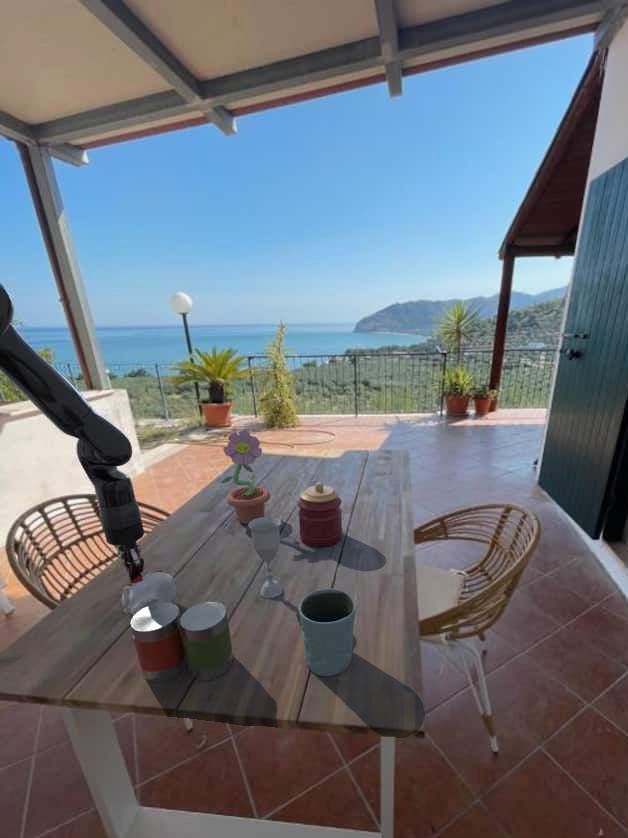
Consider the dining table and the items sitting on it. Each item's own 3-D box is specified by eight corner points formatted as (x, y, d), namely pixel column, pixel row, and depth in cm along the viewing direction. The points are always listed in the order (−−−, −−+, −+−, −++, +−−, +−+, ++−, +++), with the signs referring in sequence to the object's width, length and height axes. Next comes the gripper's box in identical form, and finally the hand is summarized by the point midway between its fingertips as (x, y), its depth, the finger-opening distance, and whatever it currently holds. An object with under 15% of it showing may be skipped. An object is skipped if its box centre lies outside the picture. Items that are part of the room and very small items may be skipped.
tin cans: (133, 682, 68) (120, 632, 64) (154, 649, 75) (143, 602, 72) (226, 680, 68) (218, 630, 65) (238, 648, 76) (231, 600, 72)
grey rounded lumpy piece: (144, 636, 78) (112, 615, 87) (195, 606, 86) (161, 590, 95) (132, 597, 75) (100, 580, 84) (185, 570, 84) (151, 557, 93)
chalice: (249, 596, 91) (241, 527, 85) (266, 580, 97) (259, 515, 91) (276, 603, 88) (269, 532, 82) (292, 586, 94) (286, 519, 88)
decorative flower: (226, 532, 122) (213, 439, 112) (225, 514, 134) (214, 429, 124) (274, 525, 126) (266, 435, 116) (269, 509, 139) (262, 426, 128)
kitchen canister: (312, 525, 126) (309, 473, 120) (349, 531, 122) (348, 478, 116) (291, 543, 115) (287, 487, 109) (331, 551, 110) (329, 493, 105)
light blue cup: (292, 668, 71) (287, 614, 67) (319, 632, 80) (316, 582, 76) (341, 687, 67) (340, 630, 63) (364, 647, 76) (364, 595, 72)
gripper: (95, 515, 89) (112, 579, 95) (110, 535, 80) (128, 604, 86) (131, 506, 94) (145, 567, 100) (149, 523, 85) (163, 590, 91)
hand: (137, 584), depth 93 cm, fingers closed
